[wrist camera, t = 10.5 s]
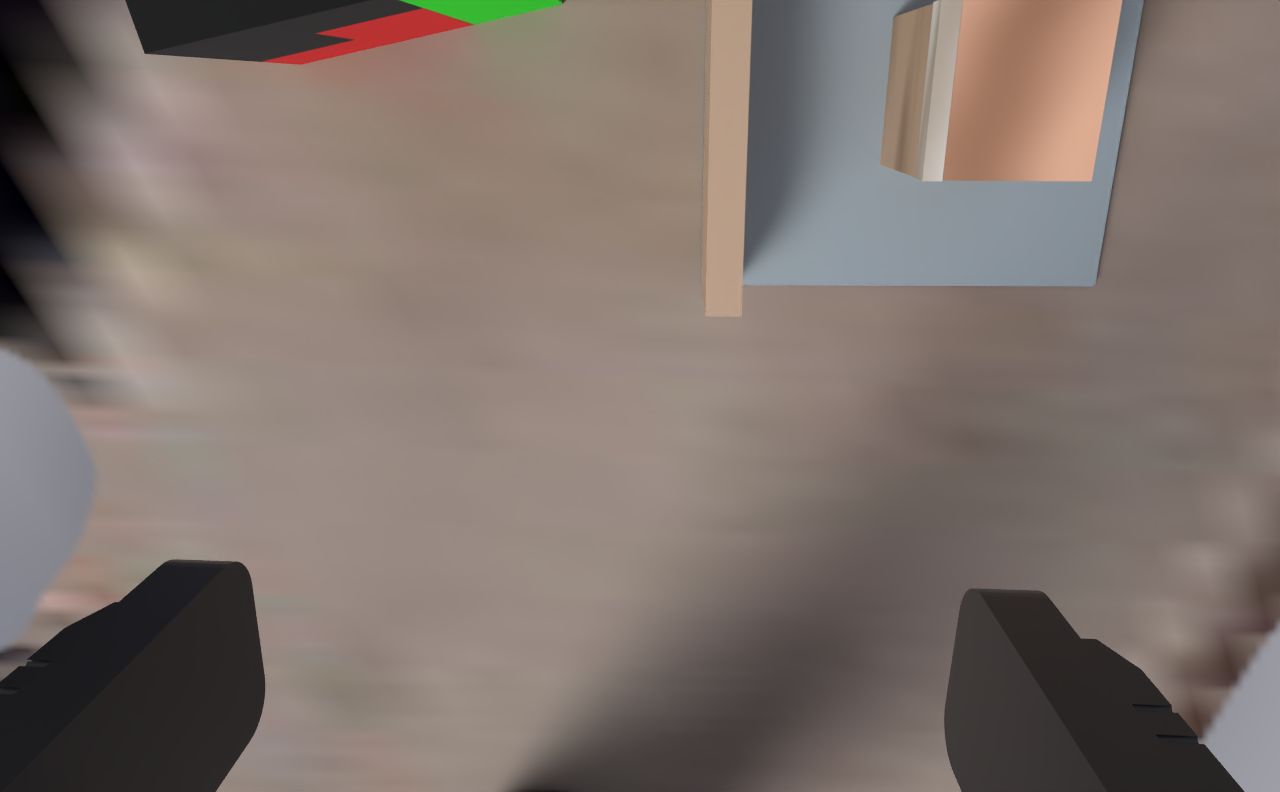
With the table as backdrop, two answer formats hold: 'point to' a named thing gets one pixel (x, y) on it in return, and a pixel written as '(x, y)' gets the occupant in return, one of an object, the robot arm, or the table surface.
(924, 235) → the arena
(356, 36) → the puzzle toy
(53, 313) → the table surface
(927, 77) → the block
